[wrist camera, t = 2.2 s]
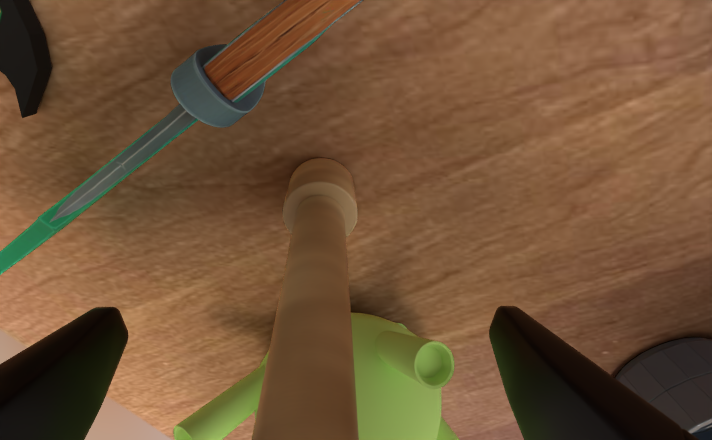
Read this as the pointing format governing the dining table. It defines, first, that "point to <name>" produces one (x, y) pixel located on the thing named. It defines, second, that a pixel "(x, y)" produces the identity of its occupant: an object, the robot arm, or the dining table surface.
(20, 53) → the knife
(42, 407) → the robot arm
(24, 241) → the knife
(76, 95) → the dining table surface
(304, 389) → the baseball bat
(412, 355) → the teapot
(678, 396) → the bowl
